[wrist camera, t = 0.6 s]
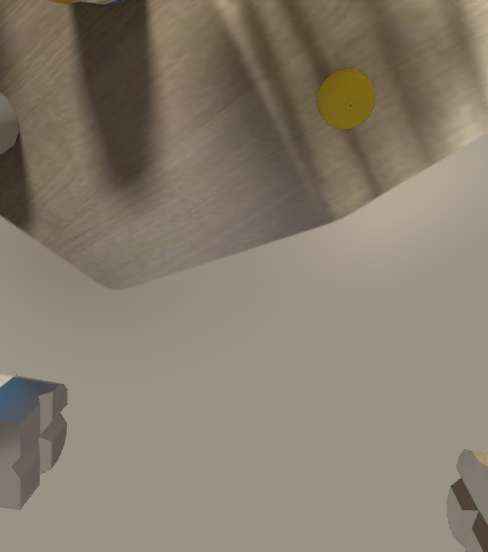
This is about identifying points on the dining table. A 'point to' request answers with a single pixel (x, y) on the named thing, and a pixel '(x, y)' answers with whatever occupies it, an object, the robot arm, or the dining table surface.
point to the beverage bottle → (90, 1)
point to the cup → (7, 125)
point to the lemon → (346, 98)
